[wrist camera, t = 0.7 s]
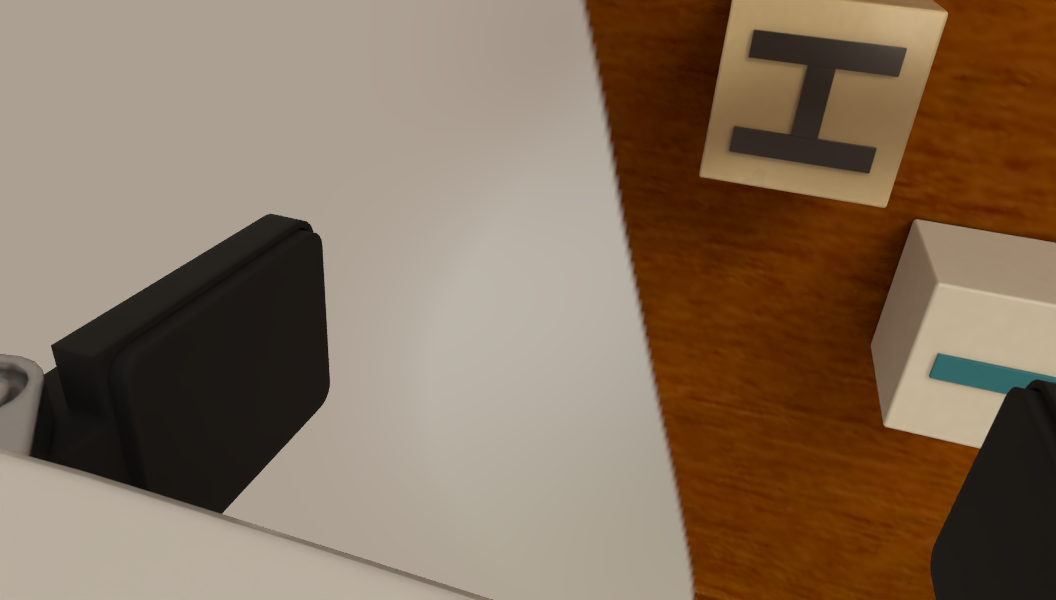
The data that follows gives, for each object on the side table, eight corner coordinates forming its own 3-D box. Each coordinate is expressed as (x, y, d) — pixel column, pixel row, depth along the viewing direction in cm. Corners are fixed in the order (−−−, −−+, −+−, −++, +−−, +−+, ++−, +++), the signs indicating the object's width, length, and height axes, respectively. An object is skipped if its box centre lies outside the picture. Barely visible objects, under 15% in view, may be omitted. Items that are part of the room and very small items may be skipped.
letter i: (913, 217, 22) (937, 284, 18) (1083, 246, 21) (1145, 323, 17) (869, 345, 24) (882, 429, 20) (1022, 377, 23) (1066, 472, 19)
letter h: (745, -30, 21) (733, -12, 17) (921, -11, 20) (950, 12, 16) (714, 131, 23) (697, 179, 19) (871, 155, 22) (886, 210, 18)
